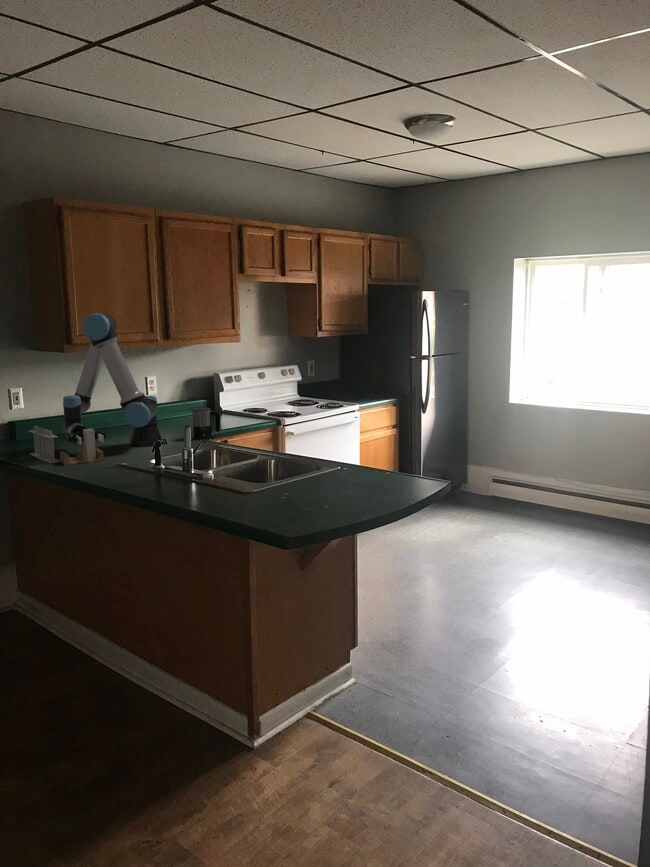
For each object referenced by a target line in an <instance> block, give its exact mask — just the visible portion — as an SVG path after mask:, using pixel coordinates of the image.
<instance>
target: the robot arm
mask: <svg viewBox="0 0 650 867" xmlns="http://www.w3.org/2000/svg"><path fill="white" fill-rule="evenodd" d="M82 332H83V334H84V335H85V337H86V338H88V339H89V340H90V344H89V350H88V353H87V354H86V358H85V361H84V363H83V367H82V370H81V373H80V377H79V379H78V380H79V381H78V383H77V387H76V388H75V392H74V395H73V394H72V395H65V396H63V398H62V406H63V418H64V424H63V427H62V431H63V433H64V434H65V438H66V440H67V442H68V443H72V444H74V445H76V444H78V445H82V444H83V443H84V440H83V429H88V427H86V425H83V418H82V414H83V413H86V412H88V411H89V409H90V408H91V406H92V405H91V404H92V402H91V400H92V396H93V393H94V390H95V388H96V384H97V381H98V378H99V376H100V372H101V369H102V365H103V363H104V365H105V366H106V369H107V371H108V373H109V375H110V377H111V379H112V382H113V384H114V386H115V389H116V391H117V393H118V394H119V397H120V402H119V404H120V408H121V410H122V415H123V420H124V422H125V423H126V424H127V425H128V426H130V427H132V431H131V434H130V437H129V445H130V446H133V447H152V446H153V447H154V446H155V445H154V443H155V442H156V441H158V440H162V441H163V437H162V434H161V432H160V429H159V423H158V422H159V421H158V419H159V418H158V399H157V396H155V395H145V393H144V392H142V391H140V390H139V387H138V385H137V383H136V382H135V379H134V377H133V375H132V373H131V370H130V368H129V366H128V364H127V362H126V360H125V357H124V355H123V354H122V351H121V349H120V346H119V344H118V339H119V337H118V334H117V322H116V320H115V318H114V317H113V316H112V315H110V314H108V313H105V312H103V313H102V312H100V313H99V312H94V313H91V314H88V315H87V316H86V317H85V319H83V321H82ZM94 434H95V440H97V441H99V442H101V443H105V440H106V439H107V433H106V432H103V431H98V430H94Z"/></svg>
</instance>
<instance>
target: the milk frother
mask: <svg viewBox="0 0 650 867" xmlns="http://www.w3.org/2000/svg"><path fill="white" fill-rule="evenodd" d="M191 411H192V424H193V425H192V426H193V427H192V428H193V437H192V438H193V439H196V440H206V439H211V438H212V433H213V432H212V431H213V430H214V429H215V432H216V433H219V432H220V431H221V430H220V429H221V414H220V413H219V412H218V411H216V410H211V408H210V407H195V408H191ZM212 415H213V416H214V417H215V428H213V427H212Z"/></svg>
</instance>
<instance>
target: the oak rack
mask: <svg viewBox="0 0 650 867" xmlns="http://www.w3.org/2000/svg"><path fill="white" fill-rule="evenodd" d="M95 451H96V458H92V459H87V458H86V453H85V452H84V450H82V449H76V456H73V457H70V454H68V453H67V452H65V451H59V460H60V462H59V463H62V464H63V465H64V466H68V465H69V466H70V465H76V464H77V463H79V464H86V462H88V463H95V462H94V461H97V462H104V461H105V458H104V451H103V450H102V449H100V448H98V447H95Z"/></svg>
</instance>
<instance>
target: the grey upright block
mask: <svg viewBox="0 0 650 867" xmlns="http://www.w3.org/2000/svg"><path fill="white" fill-rule="evenodd" d="M94 431H95V429H93V428H87V429H83V440H84V442H83V452H85V453H86V458H87V459H92V458H96V451H95V448H96V439H95V434H94Z"/></svg>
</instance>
